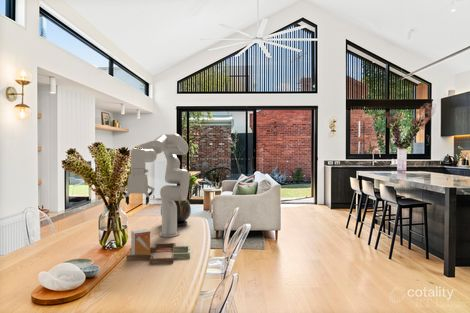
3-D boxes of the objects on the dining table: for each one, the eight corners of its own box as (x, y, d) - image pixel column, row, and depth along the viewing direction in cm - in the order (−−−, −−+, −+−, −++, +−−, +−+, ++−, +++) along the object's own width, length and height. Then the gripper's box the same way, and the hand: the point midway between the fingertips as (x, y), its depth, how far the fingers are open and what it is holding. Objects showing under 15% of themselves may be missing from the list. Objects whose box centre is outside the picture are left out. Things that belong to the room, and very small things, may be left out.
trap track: (132, 249, 184) (132, 244, 184) (189, 247, 188) (189, 242, 188) (123, 265, 158) (123, 260, 158) (190, 262, 162) (190, 257, 162)
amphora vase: (188, 228, 232) (188, 188, 232) (157, 228, 233) (157, 187, 232) (192, 221, 254) (192, 184, 253) (164, 221, 254) (164, 184, 253)
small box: (134, 259, 167) (134, 233, 167) (131, 255, 172) (130, 230, 172) (150, 256, 171) (150, 231, 171) (146, 253, 177) (146, 228, 176)
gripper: (155, 171, 182) (154, 203, 181) (122, 171, 179) (121, 203, 179) (154, 172, 174) (153, 205, 174) (119, 171, 172) (118, 205, 171)
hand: (137, 204), depth 176 cm, fingers open, 9 cm apart
